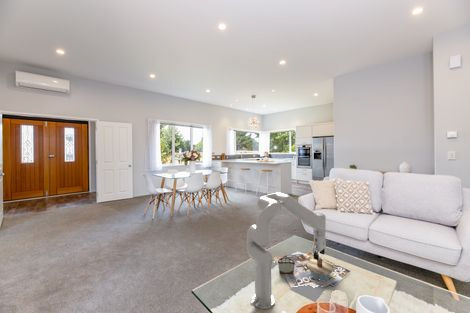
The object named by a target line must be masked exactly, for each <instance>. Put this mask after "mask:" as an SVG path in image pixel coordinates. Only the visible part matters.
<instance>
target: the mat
mask: <svg viewBox="0 0 470 313" xmlns="http://www.w3.org/2000/svg"><path fill="white" fill-rule="evenodd" d="M321 286H322V285H321ZM321 286H318V287H315V288H313V287H312V286H310V285H307V286H305V285H304V286H298V287H293V286H291V288H290V290H289V291H292V292H294V293H296V294H299V295H300V296H302V297H304V298H306V299H308V300H310V301H312V302H314V303H316V302H317V301H318V300H319V298H320V297H321V295H322V294H323V293H324V291H325V290H326V289H327V288H326V287H325V286H323V287H321Z"/></svg>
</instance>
